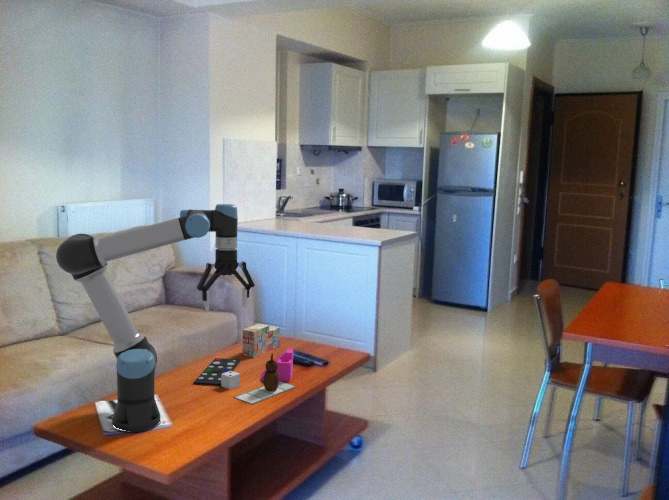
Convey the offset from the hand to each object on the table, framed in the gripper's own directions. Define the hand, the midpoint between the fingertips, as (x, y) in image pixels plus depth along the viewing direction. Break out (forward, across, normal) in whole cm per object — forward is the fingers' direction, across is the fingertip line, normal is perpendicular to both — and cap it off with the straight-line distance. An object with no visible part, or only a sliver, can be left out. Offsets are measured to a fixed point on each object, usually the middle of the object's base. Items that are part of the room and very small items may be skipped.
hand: (226, 308), depth 221 cm
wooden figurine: (+35, +20, +5) cm, 40 cm away
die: (+35, +7, +15) cm, 39 cm away
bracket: (+35, +27, +19) cm, 48 cm away
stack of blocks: (+35, +34, +54) cm, 72 cm away
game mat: (+35, +17, +4) cm, 39 cm away
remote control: (+36, +7, +32) cm, 49 cm away
